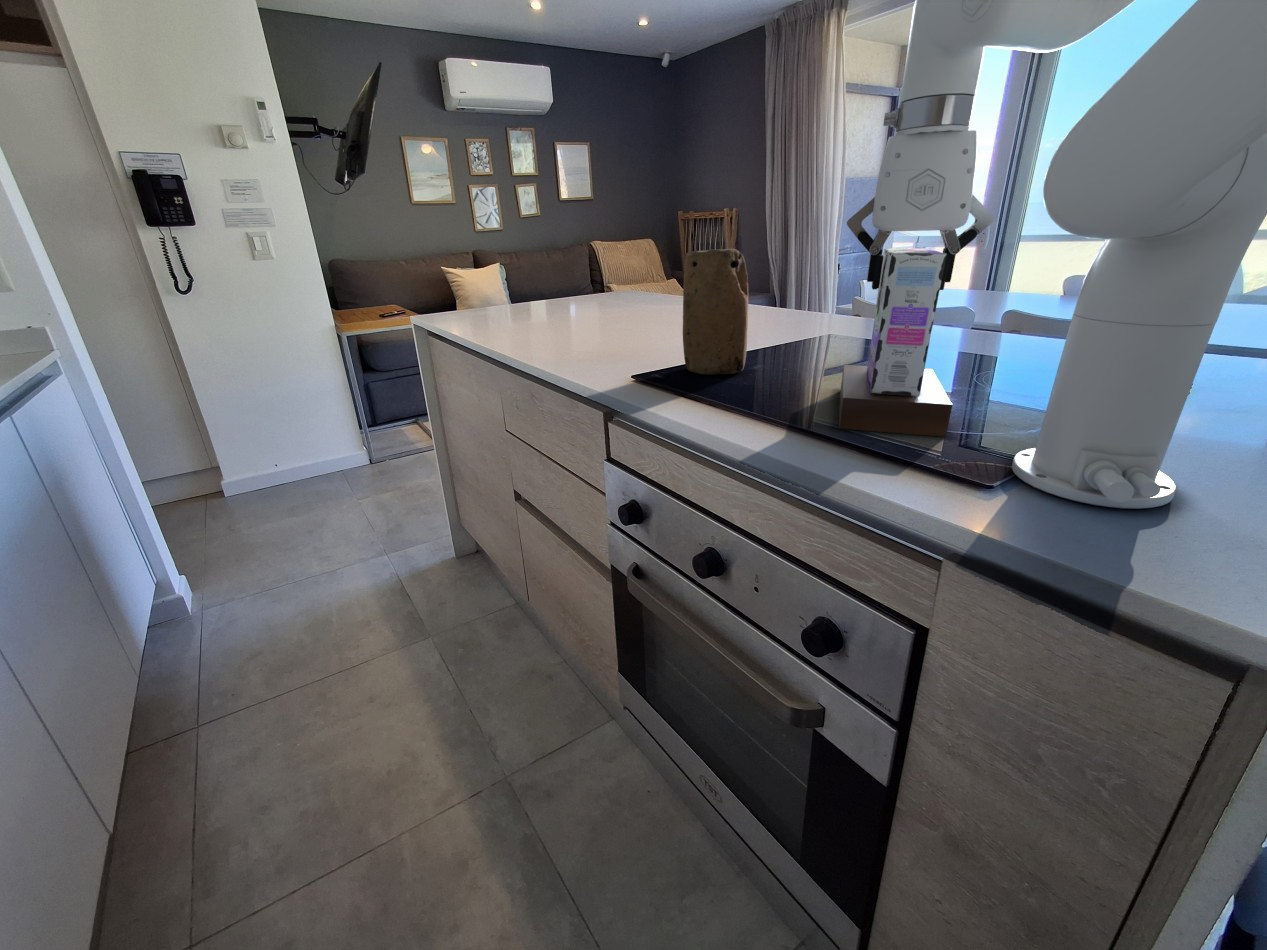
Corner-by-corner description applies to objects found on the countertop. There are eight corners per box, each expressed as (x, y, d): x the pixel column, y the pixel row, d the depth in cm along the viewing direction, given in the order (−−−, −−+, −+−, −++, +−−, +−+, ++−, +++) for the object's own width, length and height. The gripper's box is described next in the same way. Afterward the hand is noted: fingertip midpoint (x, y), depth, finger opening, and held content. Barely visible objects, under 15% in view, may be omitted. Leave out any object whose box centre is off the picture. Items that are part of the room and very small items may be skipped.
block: (679, 374, 98) (680, 250, 90) (689, 364, 105) (691, 248, 97) (742, 378, 95) (749, 249, 87) (748, 367, 102) (755, 247, 93)
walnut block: (945, 437, 68) (952, 404, 66) (839, 428, 71) (843, 397, 70) (927, 395, 83) (932, 368, 81) (840, 390, 87) (843, 364, 85)
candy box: (921, 398, 68) (948, 251, 62) (868, 394, 70) (890, 252, 64) (910, 371, 80) (932, 246, 74) (865, 369, 82) (883, 246, 76)
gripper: (851, 122, 63) (832, 291, 70) (1033, 108, 58) (992, 293, 65) (850, 131, 69) (833, 285, 77) (1014, 119, 64) (978, 286, 71)
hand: (906, 287), depth 71 cm, fingers open, 6 cm apart
